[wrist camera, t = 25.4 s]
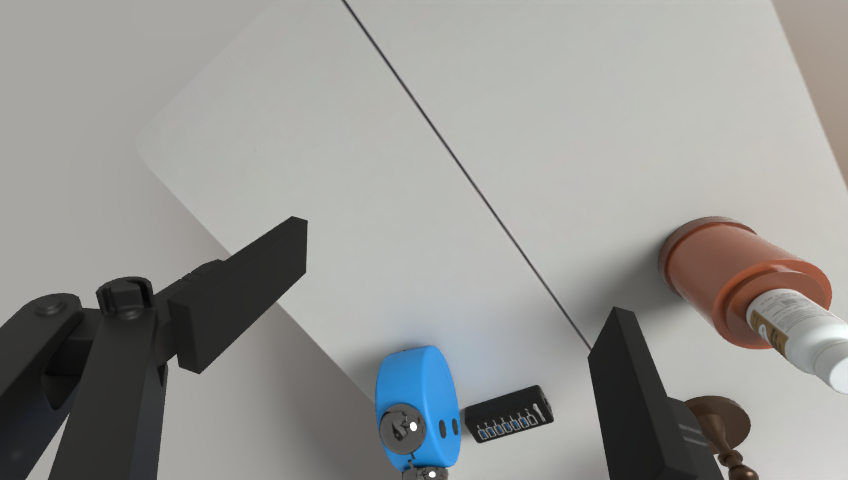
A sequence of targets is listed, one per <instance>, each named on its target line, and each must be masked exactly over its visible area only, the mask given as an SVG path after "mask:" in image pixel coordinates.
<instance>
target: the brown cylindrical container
mask: <svg viewBox="0 0 848 480" xmlns="http://www.w3.org/2000/svg"><path fill="white" fill-rule="evenodd" d="M658 269H659V273H660V276H661V278H662V280H663V281H664V282H665V284H666V285H667V286H668V287H669V288H670V289H671V290H672V291H673V292H674V293H676V294H677V295H678V296H680V297H682V298H684V299H685V300H686V301H687V302H688V303H689V304H690V305H691V306H692V307H693V308H694V309H695V310H696V311H697V312H698V313H699V314H700V315H701V316H702V317H703V318H704V319H705V320H706V321H707V322H708V323H709V324H710V325H711V326H712V327H713V328H714V329H715V330H716V331H717V332H718V333H719V334H720V335H721V336H722V337H723V338H724V339H725V340H727V341H728V342H730V343H732V344H734V345H737V346H739V347H743V348H748V349H770V348H773V347H772V346H771V345H770V344H769V343H768V342H767V341H765V340H764V339H763V338H762V337H761V336H760V335H758V334H757V333H756V332H755V331H754V330H753V329H752V328H751V327H750V326H749V324H748V323H747V319H746V313H747V309H748V307H749V305H750V304H751V303H752V302H753V300H755V299H756V298H757V297H758V296H760V295H761V294H763V293H765V292H767V291H770V290H774V289H791V290H795V291H797V292H799V293H801V294H802V295H804V296H805V297H807V298H808V299H810V300H812V301H813V302H815V303H816V304H818V305H819V306H821V307H822V308H824V309H826V310H827V311H828V309H829V307H830V304H831V299H832V290H831V285H830V282H829V280H828V278H827V277H826V275H825V274H824V273H823V272H822V271H821V270H820V269H819V268H817V267H816V266H814V265H812V264H810V263H808V262H807V261H805V260H803V259H801V258H799V257H797V256H795V255H793V254H791V253H790V252H788V251H786V250H784V249H782V248H780V247H778V246H776V245H774V244H772V243H771V242H769V241H767V240H765V239H763V238H761V237H759V236H758V235H757V234H756V233H755V232H754V231H753V230H752V229H750V228H749V227H747V226H745V225H743V224H741V223H739V222H738V221H736V220H733V219H730V218H726V217H718V216H716V217H704V218H700V219H697V220H694V221H691V222H689V223H687V224H685V225H683V226H682V227H680V228H679V229H677V230H676V231H675V232H674V233H673V234H672V235H671V236H670V237H669V238H668V239H667V240H666V242H665V243H664V245H663V247H662V249H661V251H660V254H659V258H658Z"/></svg>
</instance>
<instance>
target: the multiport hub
mask: <svg viewBox="0 0 848 480" xmlns="http://www.w3.org/2000/svg"><path fill="white" fill-rule="evenodd" d="M553 421H554V419H553V414H552V410H551V406H550V404H549V402H548V401H547V399H546V397H545V395H544V393H543V392H542V390H541V388H540V386H538V385H535V386H532V387H529V388H526V389H523V390H520V391H517V392H513V393H510V394H507V395H504V396H501V397H498V398H495V399H492V400H489V401H486V402H482V403H479V404H476V405H473V406H470V407H467V408H465V425H466V426H467V428H468V429H469V431H470V432H471V434H472V436H473V437H474V439H475V440H476V442H477V443H483V442H487V441H490V440H493V439H497V438H500V437H504V436H507V435H511V434H514V433H518V432H521V431H524V430H528V429H531V428H535V427H538V426H542V425H545V424H549V423H552V422H553Z"/></svg>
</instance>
